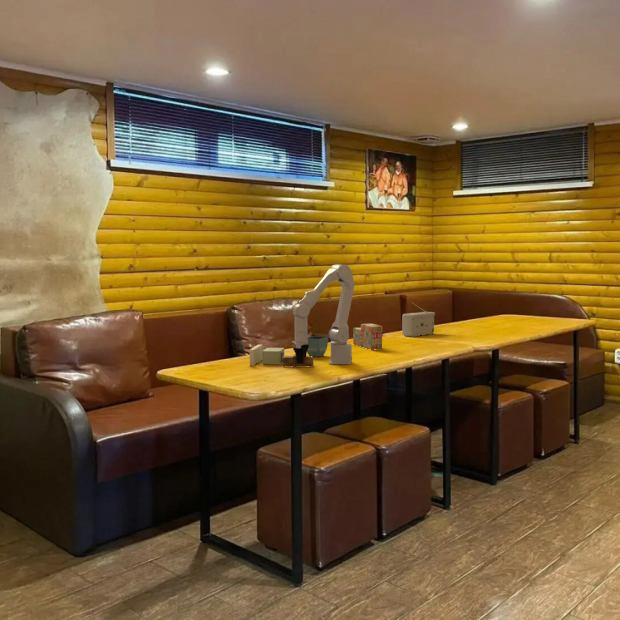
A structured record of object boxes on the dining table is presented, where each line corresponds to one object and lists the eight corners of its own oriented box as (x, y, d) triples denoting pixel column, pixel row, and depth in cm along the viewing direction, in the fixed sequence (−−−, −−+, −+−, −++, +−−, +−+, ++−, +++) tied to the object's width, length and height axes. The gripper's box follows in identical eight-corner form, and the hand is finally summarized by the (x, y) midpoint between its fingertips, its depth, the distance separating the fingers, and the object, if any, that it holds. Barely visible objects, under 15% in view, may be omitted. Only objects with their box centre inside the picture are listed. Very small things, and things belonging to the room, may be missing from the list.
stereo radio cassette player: (425, 333, 401) (425, 300, 399) (436, 334, 394) (436, 300, 393) (401, 336, 388) (401, 302, 386) (412, 337, 381) (412, 302, 379)
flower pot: (313, 354, 325) (313, 336, 324) (329, 355, 320) (328, 337, 319) (303, 356, 317) (303, 338, 316) (319, 358, 313) (319, 339, 312)
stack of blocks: (352, 345, 355) (352, 322, 353) (363, 344, 357) (363, 321, 356) (371, 350, 335) (371, 326, 334) (382, 350, 337) (382, 325, 336)
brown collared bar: (314, 364, 295) (313, 354, 295) (311, 367, 288) (311, 356, 288) (284, 364, 298) (284, 353, 297) (281, 367, 290) (281, 356, 290)
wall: (262, 359, 311) (262, 344, 310) (254, 365, 295) (253, 349, 294) (258, 359, 311) (258, 344, 311) (249, 365, 295) (249, 349, 295)
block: (284, 360, 306) (284, 348, 306) (279, 364, 296) (279, 351, 296) (267, 360, 307) (267, 347, 307) (262, 364, 298) (262, 351, 297)
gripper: (295, 329, 299) (295, 359, 300) (288, 333, 285) (289, 365, 286) (310, 329, 298) (311, 359, 299) (305, 333, 284) (305, 365, 285)
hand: (301, 362), depth 293 cm, fingers open, 5 cm apart
